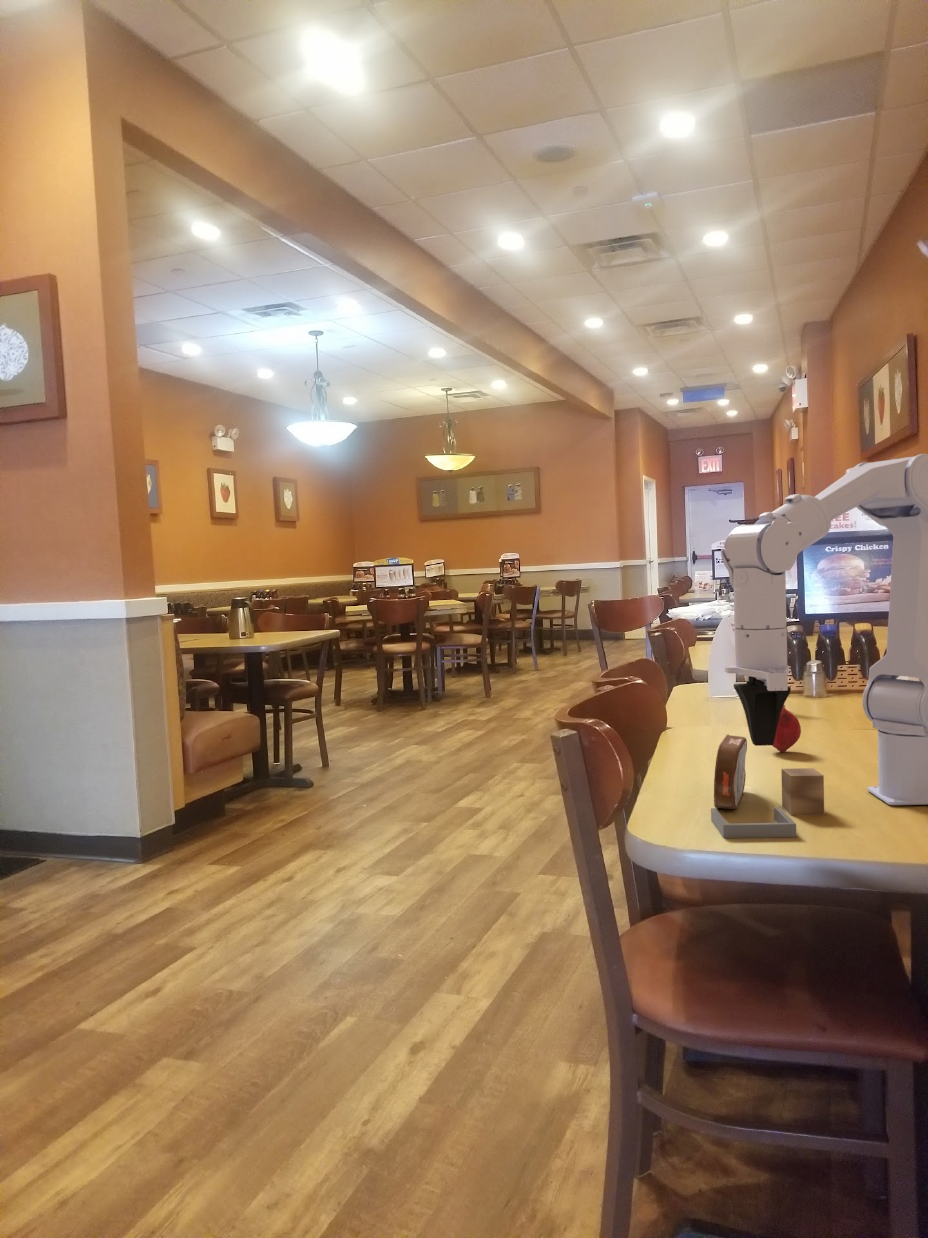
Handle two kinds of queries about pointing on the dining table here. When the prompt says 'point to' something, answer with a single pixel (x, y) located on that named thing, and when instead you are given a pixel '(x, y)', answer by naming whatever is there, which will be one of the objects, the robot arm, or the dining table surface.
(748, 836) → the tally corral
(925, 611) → the robot arm
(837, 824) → the dining table surface
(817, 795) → the walnut block
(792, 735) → the onion
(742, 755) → the tin
